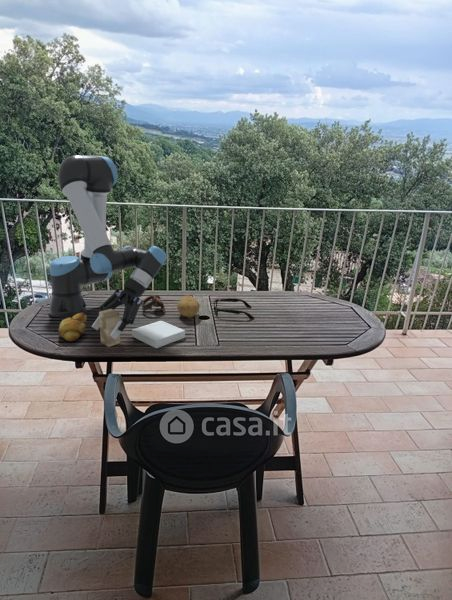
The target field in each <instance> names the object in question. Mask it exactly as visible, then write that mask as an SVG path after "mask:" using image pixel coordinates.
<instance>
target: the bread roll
mask: <svg viewBox="0 0 452 600" xmlns="http://www.w3.org/2000/svg"><path fill="white" fill-rule="evenodd" d="M87 317H88V316H87V315H86V313H78V314H76V315H74V316H73V317H69V318H63V319H62V320H61V322H60V323H59V325H58V326H59V327H58V334H59V336H60V337H61V338H63V339H65V340H66V341H67V342H75V341H77V340H79V339H80V337H81V336H83V335H84V334H85V333H86V330H85V329H86V324H87V322H88V321H87V319H88V318H87Z"/></svg>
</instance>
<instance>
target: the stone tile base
mask: <svg viewBox="0 0 452 600" xmlns="http://www.w3.org/2000/svg"><path fill="white" fill-rule="evenodd" d="M131 330H132V332H131V334H132V338H135V339H136V340H138V341H141V342H143V343H144V344H146V345H148V346H151V347H153V348H154V349H159V348H161V347H163V346H166V345H169V344H171V343H174V342H177V341H179V340H182V339H185V338H186V330H185V329H183V328H180V327H177V326H175V325H173V324H171V323H168V322H166V321H163V320H158V321H154V322H153V323H152V322H151V323H149V324H146V325H143V326H139V327H135V328H133V329H131Z"/></svg>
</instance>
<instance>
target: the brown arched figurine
mask: <svg viewBox="0 0 452 600" xmlns="http://www.w3.org/2000/svg"><path fill="white" fill-rule="evenodd" d="M150 300H151V301H150ZM142 301H143V302H142V304H141V305H140V306H142V308H141V310H142V311H144V312H145V311H148V310H151V311H152V310H153V306H154V307H155V308H159V307H160V310H161V311H162V313H163V314H165V312H166V308H165V305H164V302H163V301H162V298H161V296H160V295H158V294H156V295H153V294H152V295H149V296H147V297H146V298H145V299H143V300H142ZM149 301H150V302H149ZM146 303H147V304H146Z"/></svg>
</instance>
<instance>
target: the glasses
mask: <svg viewBox="0 0 452 600" xmlns="http://www.w3.org/2000/svg"><path fill="white" fill-rule="evenodd" d="M218 302H231V303H237V302H242V304H244V305H245V307H246V308H247V307H251V308H252V306H251V305H250V304H249V303H248V302H247V301H245V300H243V299H242V298H241V299H240V298H220V299H217V298H216V299H215V300H214V301H213V312H214V314H215V313H216V315H215V316H216V317H218V316H219V313H220V312H224V313H229V314H235V315H239V314H244V315H245V316H247V318H249V319H250V320H254V319H253V318H255V317H254V316H253V315H252V314H250V313H249V312H247V311H243V310H235V309H219V308H218ZM218 312H219V313H218Z"/></svg>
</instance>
